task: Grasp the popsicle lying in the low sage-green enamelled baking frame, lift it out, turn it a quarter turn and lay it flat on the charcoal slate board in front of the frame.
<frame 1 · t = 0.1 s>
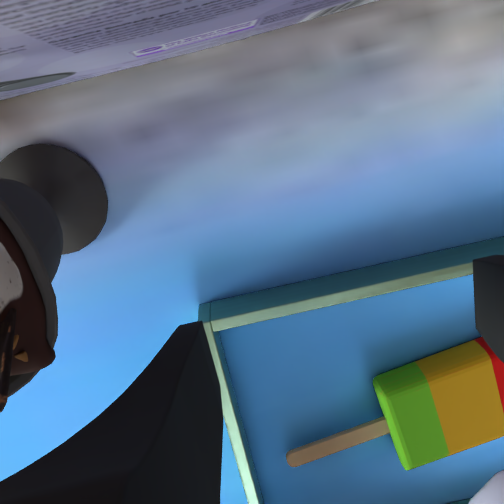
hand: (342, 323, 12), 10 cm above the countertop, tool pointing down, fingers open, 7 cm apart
sundae: (50, 200, 21), on the countertop
baking frame: (412, 402, 26), on the countertop
popsicle: (411, 400, 26), on the countertop
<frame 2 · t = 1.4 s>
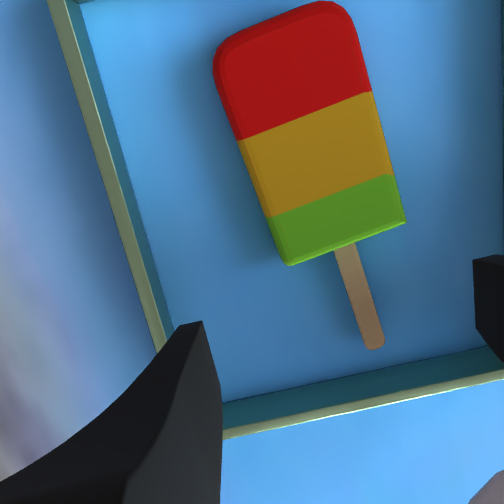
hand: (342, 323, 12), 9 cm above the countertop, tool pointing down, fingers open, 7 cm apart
baking frame: (325, 199, 21), on the countertop
popsicle: (324, 198, 21), on the countertop
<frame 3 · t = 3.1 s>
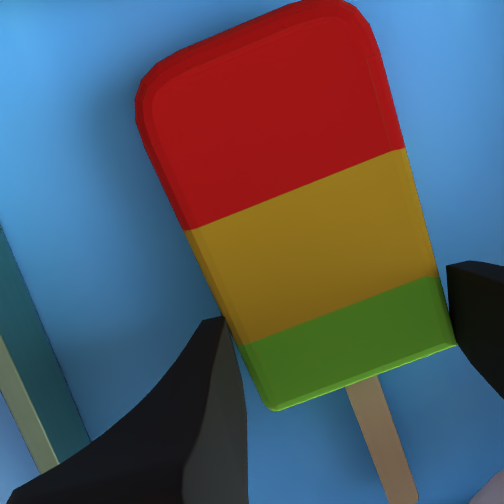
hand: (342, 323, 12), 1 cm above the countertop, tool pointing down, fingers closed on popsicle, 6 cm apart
baking frame: (329, 300, 13), on the countertop
popsicle: (327, 297, 14), on the countertop, touching gripper
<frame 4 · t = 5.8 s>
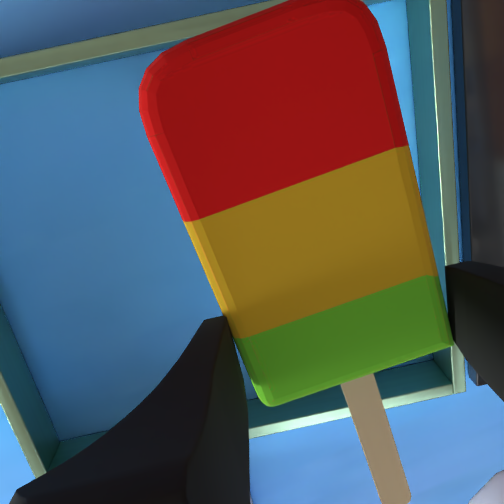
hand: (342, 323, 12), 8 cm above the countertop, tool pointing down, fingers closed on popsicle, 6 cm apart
baking frame: (209, 248, 20), on the countertop
popsicle: (325, 294, 14), point 7 cm above the countertop, touching gripper
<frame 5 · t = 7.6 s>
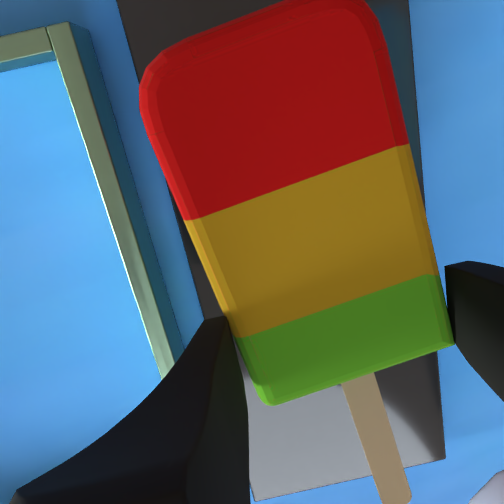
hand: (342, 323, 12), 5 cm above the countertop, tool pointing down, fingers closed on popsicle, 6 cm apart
slate board: (308, 261, 17), on the countertop
popsicle: (326, 293, 14), point 3 cm above the countertop, touching gripper
when the fingers open (2 cm above the countertop, at t = 8.8 s): popsicle stays where it is, resting on slate board.
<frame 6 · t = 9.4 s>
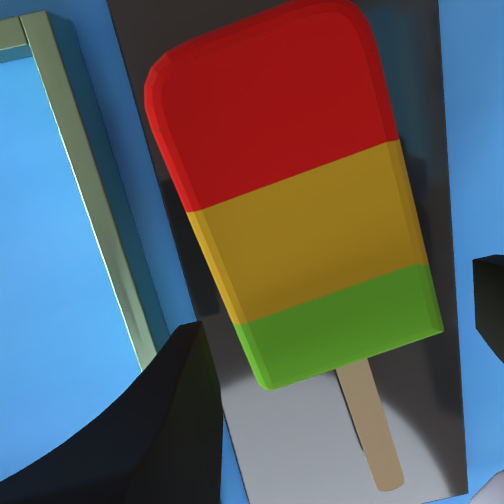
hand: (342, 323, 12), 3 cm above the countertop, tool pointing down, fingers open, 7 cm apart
slate board: (320, 280, 15), on the countertop
popsicle: (321, 284, 14), point 1 cm above the countertop, touching slate board
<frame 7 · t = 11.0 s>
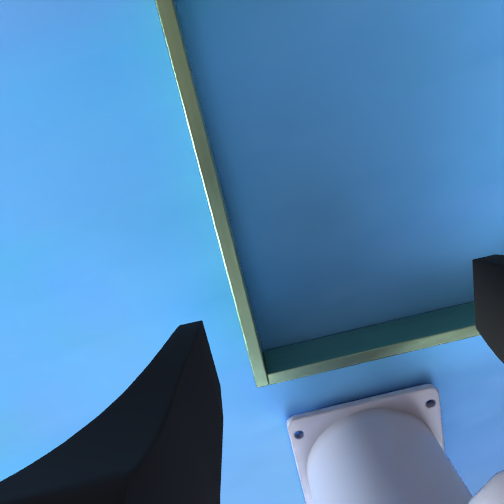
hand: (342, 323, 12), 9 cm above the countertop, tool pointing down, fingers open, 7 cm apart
baking frame: (432, 146, 20), on the countertop
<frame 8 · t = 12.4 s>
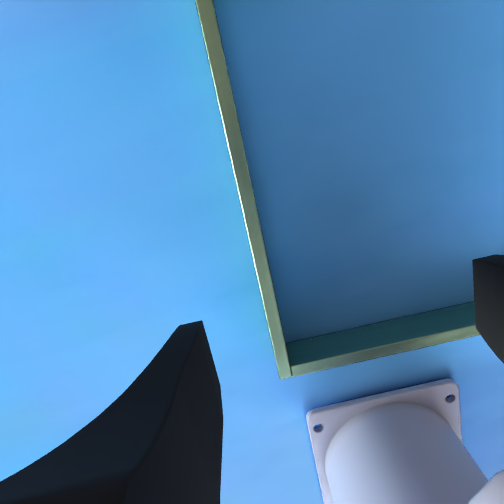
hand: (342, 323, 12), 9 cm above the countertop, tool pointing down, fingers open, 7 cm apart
baking frame: (459, 140, 20), on the countertop
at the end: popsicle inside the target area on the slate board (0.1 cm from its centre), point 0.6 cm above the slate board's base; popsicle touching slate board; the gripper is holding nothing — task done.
